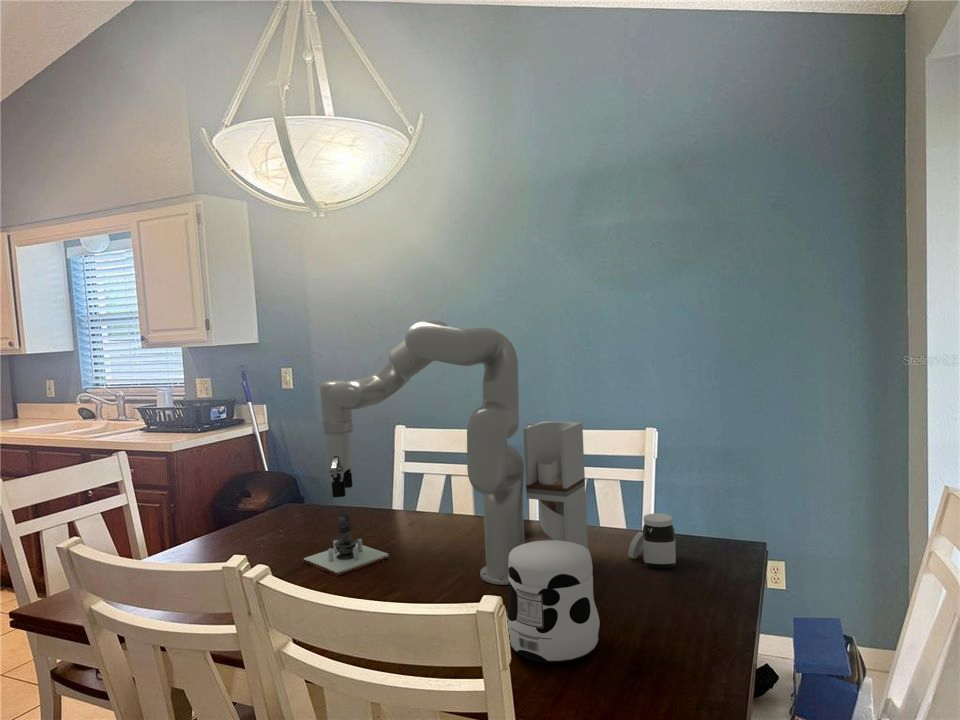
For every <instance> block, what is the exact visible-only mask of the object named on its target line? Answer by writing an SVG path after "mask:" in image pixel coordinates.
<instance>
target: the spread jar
mask: <svg viewBox="0 0 960 720" xmlns="http://www.w3.org/2000/svg"><path fill="white" fill-rule="evenodd" d="M673 521H674V520H673V516H671V515H669V514H665V513H656V512H655V513H649V514H645V515H644V516H643V523H644V524H643V526H642V531H638V532H637V533H636V534H634V537H633V538H632V540H631V542H630V544H629V547H628V552H627V555H628V557H629V558H631V559H633V560H635V559H637V558H638V557H639V556H640V554H641V552H642V555H643V556H642V557H643V563H644V565H645V566H646V567H647V568H651V569H654V570H668V569H671V568H674V567H675V566H676V564H677V563H676V562H677V555H676V553H677V551H676V531H675V528H674V525H673V524H674V523H673Z"/></svg>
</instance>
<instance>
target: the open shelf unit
mask: <svg viewBox="0 0 960 720" xmlns="http://www.w3.org/2000/svg"><path fill="white" fill-rule="evenodd" d="M583 428H584V427H583V422H576V421H575V422H573V421H548V420H543V421H540V422H538V423H535V424H532V425H529V426H525V427H524V428H523V429H522V430H523V444H524V445H523V446H524V447H523V448H524V449H523V450H524V451H523V452H524V472H525V473H524V475H525V488H526V489H525V491H526V493H525V494H526V499H529V500H530V499H531V500H538V503H539V520H540V522H539V524H540V527H541V529H542V531H543V532H544V533H545V534H546V535H547V536H548V537H549V538H550V539H551V540H558V541H567V542H573V543H576V544H579V545H582V546H584V547H585V548H587V549H588V550H589V545H588V525H587V523H588V522H587V520H588V519H587V502H586V501H587V499H586V496H587V495H586V477H585V474H586V473H585V452H584V432H583Z"/></svg>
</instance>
